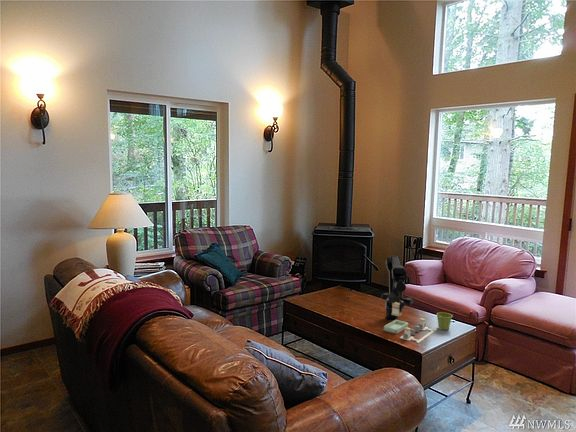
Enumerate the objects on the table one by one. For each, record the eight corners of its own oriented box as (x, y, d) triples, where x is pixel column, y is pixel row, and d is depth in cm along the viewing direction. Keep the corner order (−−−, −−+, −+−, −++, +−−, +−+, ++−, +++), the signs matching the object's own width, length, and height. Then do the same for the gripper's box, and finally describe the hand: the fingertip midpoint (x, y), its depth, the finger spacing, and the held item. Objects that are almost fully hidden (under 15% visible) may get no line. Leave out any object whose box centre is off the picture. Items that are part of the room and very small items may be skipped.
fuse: (391, 314, 252) (391, 303, 251) (394, 312, 255) (395, 302, 254) (398, 316, 249) (398, 305, 248) (401, 314, 252) (402, 303, 251)
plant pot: (433, 328, 254) (433, 314, 254) (439, 324, 261) (440, 311, 260) (448, 332, 248) (449, 318, 247) (454, 328, 255) (455, 314, 254)
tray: (383, 330, 249) (383, 326, 249) (395, 323, 262) (395, 319, 262) (396, 334, 244) (396, 330, 243) (408, 326, 256) (408, 322, 256)
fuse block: (399, 338, 238) (400, 328, 237) (419, 325, 258) (419, 316, 258) (418, 343, 231) (419, 333, 230) (436, 330, 251) (437, 321, 250)
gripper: (377, 287, 250) (376, 312, 252) (406, 293, 238) (405, 319, 240) (386, 283, 259) (385, 307, 260) (414, 289, 247) (413, 314, 248)
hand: (396, 312), depth 252 cm, fingers closed on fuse, 4 cm apart
